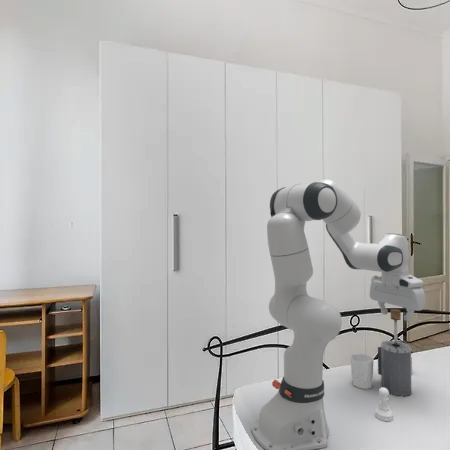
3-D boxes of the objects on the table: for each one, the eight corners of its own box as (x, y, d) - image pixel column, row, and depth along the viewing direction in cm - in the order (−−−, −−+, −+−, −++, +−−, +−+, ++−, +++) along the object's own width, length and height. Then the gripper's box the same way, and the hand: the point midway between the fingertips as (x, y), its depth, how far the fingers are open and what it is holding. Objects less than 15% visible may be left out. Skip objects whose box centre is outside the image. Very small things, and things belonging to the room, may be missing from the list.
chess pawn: (375, 410, 105) (375, 382, 105) (392, 414, 103) (392, 385, 103) (375, 419, 101) (374, 389, 101) (393, 423, 99) (393, 393, 99)
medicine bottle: (412, 375, 130) (412, 344, 130) (394, 375, 130) (393, 344, 130) (402, 367, 137) (402, 338, 137) (385, 367, 137) (385, 338, 137)
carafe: (398, 399, 112) (398, 352, 112) (370, 383, 123) (370, 341, 123) (417, 393, 116) (417, 347, 116) (388, 378, 127) (388, 337, 127)
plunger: (397, 367, 114) (397, 313, 114) (381, 359, 120) (380, 309, 120) (411, 363, 117) (410, 311, 117) (394, 356, 123) (393, 307, 123)
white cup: (376, 391, 118) (375, 363, 118) (352, 389, 119) (352, 361, 119) (371, 380, 126) (370, 354, 126) (349, 379, 127) (348, 353, 127)
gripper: (365, 275, 127) (365, 311, 127) (415, 283, 108) (415, 326, 108) (377, 274, 129) (377, 309, 129) (428, 282, 111) (428, 323, 111)
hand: (395, 317), depth 118 cm, fingers open, 8 cm apart
